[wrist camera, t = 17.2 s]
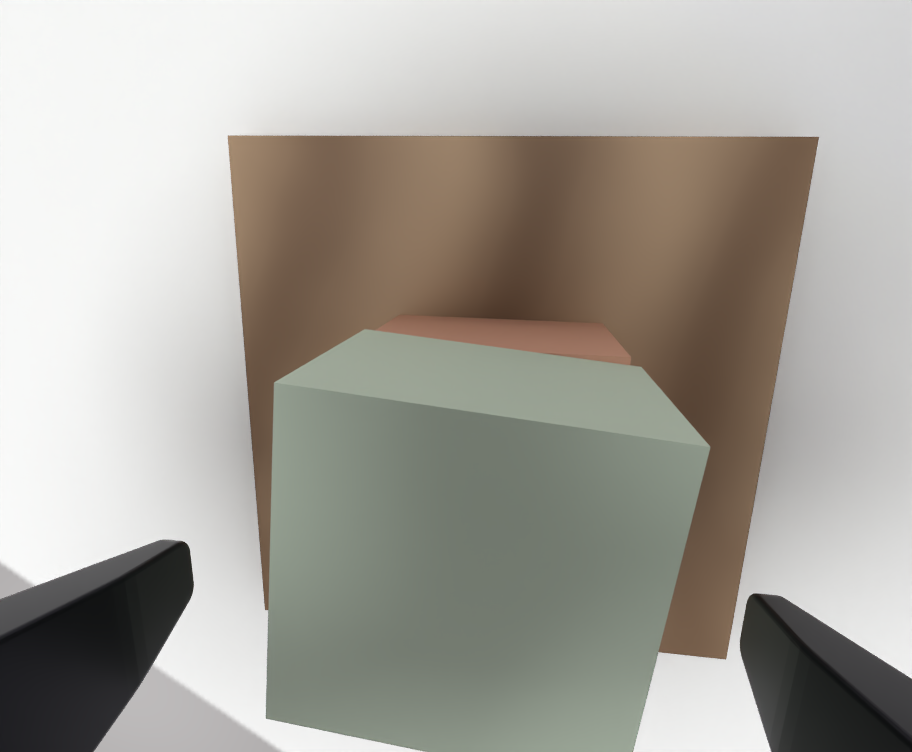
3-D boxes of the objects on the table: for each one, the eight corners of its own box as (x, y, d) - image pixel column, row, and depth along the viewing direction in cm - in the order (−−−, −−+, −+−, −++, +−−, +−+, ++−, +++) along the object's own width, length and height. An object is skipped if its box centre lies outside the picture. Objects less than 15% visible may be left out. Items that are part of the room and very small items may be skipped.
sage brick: (641, 366, 11) (710, 446, 7) (590, 607, 13) (622, 792, 9) (364, 329, 12) (274, 383, 8) (348, 565, 14) (265, 718, 9)
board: (799, 143, 15) (818, 137, 14) (715, 637, 19) (726, 659, 18) (244, 140, 17) (227, 135, 16) (277, 592, 21) (265, 610, 20)
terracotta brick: (602, 323, 16) (631, 356, 11) (585, 510, 17) (604, 602, 13) (399, 314, 16) (354, 343, 12) (399, 495, 18) (359, 578, 14)
